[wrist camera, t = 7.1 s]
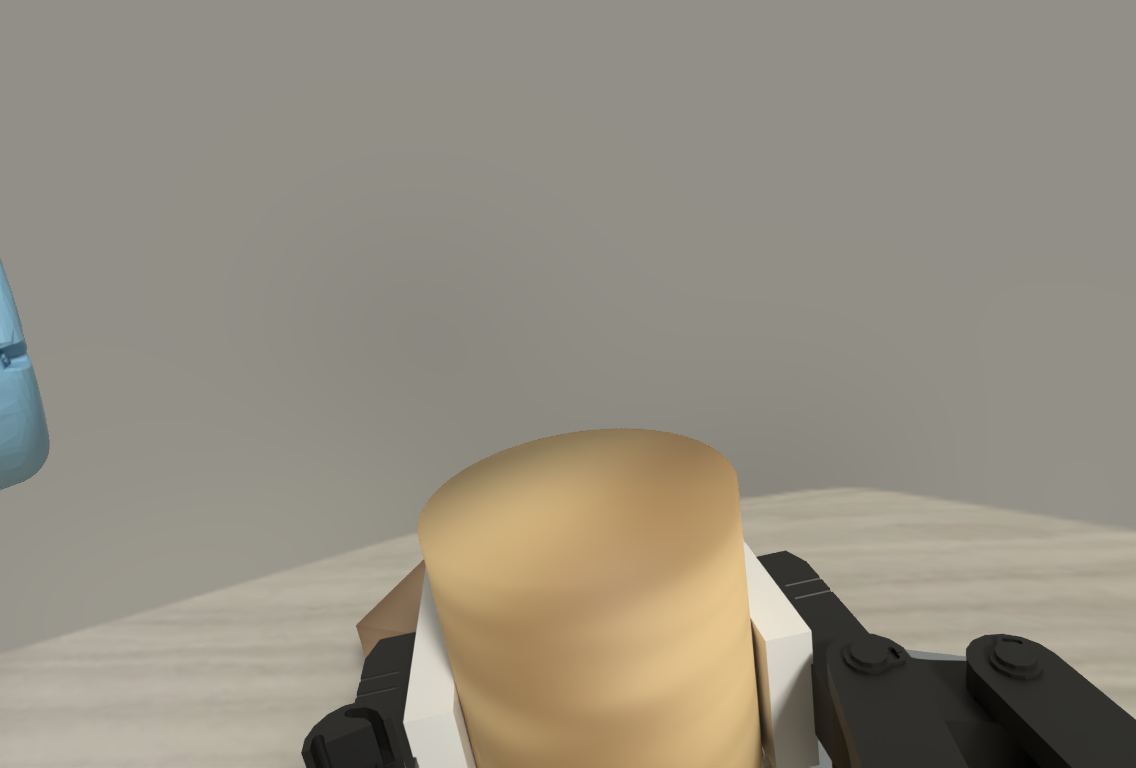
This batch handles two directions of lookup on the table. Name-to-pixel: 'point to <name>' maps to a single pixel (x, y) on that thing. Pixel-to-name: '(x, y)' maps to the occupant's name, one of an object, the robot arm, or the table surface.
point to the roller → (597, 603)
